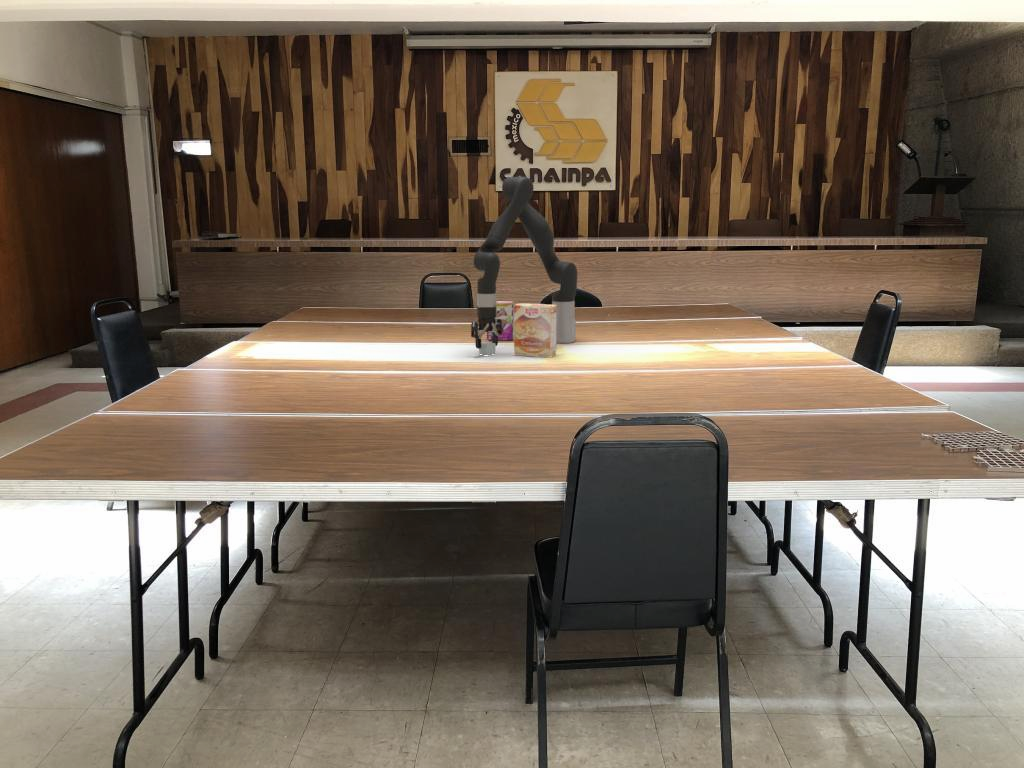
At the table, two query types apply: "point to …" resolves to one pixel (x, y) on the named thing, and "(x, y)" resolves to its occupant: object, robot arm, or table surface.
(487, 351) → the blue-grey cube
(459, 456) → the table surface
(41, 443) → the table surface
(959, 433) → the table surface
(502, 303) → the candy bar box
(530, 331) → the coffeecake box
